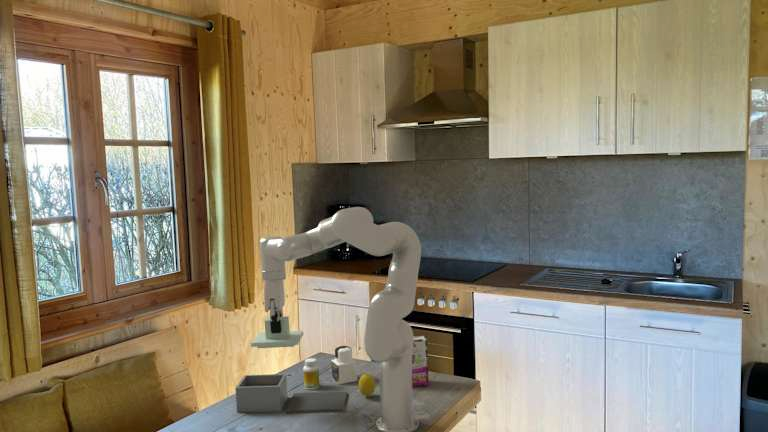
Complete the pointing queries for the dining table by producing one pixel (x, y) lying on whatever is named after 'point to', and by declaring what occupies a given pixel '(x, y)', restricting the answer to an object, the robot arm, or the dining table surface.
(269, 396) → the storage box
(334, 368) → the medicine bottle
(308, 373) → the supplement bottle
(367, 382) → the lemon
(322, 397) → the mat
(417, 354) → the candy bar box
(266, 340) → the lid
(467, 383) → the dining table surface
